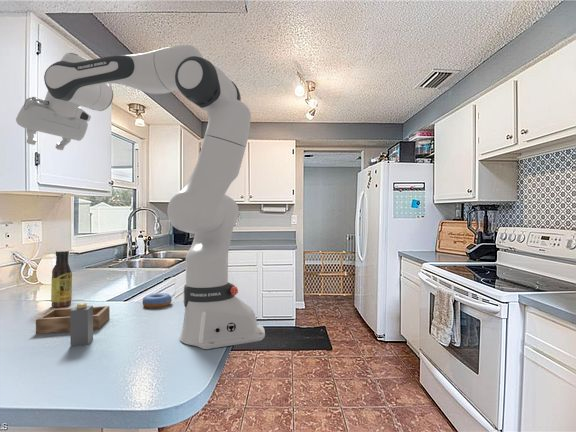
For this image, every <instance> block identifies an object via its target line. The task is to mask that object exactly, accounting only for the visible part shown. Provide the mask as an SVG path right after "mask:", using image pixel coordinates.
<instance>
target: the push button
mask: <svg viewBox="0 0 576 432" xmlns="http://www.w3.org/2000/svg"><path fill="white" fill-rule="evenodd" d="M93 307H94V306H93V305H87V303H86V302H82V303H76V306H75V307H72V308H73V309H72V310H70V332H69V333H70V335H69V336H70V347H79V346H80V347H81V346H82V347H83V346H89V345H90V344H91V342H92V341H94V330H93Z"/></svg>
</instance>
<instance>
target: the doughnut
mask: <svg viewBox="0 0 576 432" xmlns="http://www.w3.org/2000/svg"><path fill="white" fill-rule="evenodd" d="M172 302H173V301H172V296H171V294H169V293H164V292H162V293H161V292H158V293H150V294H148V295H145V296H144V297H142V306H143V307H144V308H146V309H161V308H165V307H167V306H168V307H169V305H171V303H172Z"/></svg>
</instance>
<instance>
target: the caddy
mask: <svg viewBox="0 0 576 432" xmlns="http://www.w3.org/2000/svg"><path fill="white" fill-rule="evenodd" d="M73 308H74V307H69V308H68V307H65V308H53V309H51V310H49V311H48V312H46V313H44V314H42V315H40V316H39V317H38V318H36V319H35V335H37V334H39V333H42V334H51V333H50V332H56V333H66V332H68V333H70V310H72V309H73ZM110 309H111V308H110V305H103V306H102V305H101V306H99V305H98V306H93V331H95V330H96V331H97V330H100V329H101V328H102V327H103V326H104V325H105V324H106V323H107V321H109V320H110ZM39 335H40V334H39Z"/></svg>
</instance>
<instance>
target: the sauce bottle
mask: <svg viewBox="0 0 576 432" xmlns="http://www.w3.org/2000/svg"><path fill="white" fill-rule="evenodd" d="M69 252H70V251H69V250H58V251H55V257H56V258H55V265H54V267H53V268H52V271H51V287H50V288H51V289H50V290H51V295H50V297H51V298H50V301H51V307H52V308H61V307H67V306H70V305H71V304H72V298H73V297H72V294H73V293H72V292H73V291H72V289H73V288H72V287H73V286H72V285H73V272H72V269H71V267H70V264H69Z"/></svg>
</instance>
